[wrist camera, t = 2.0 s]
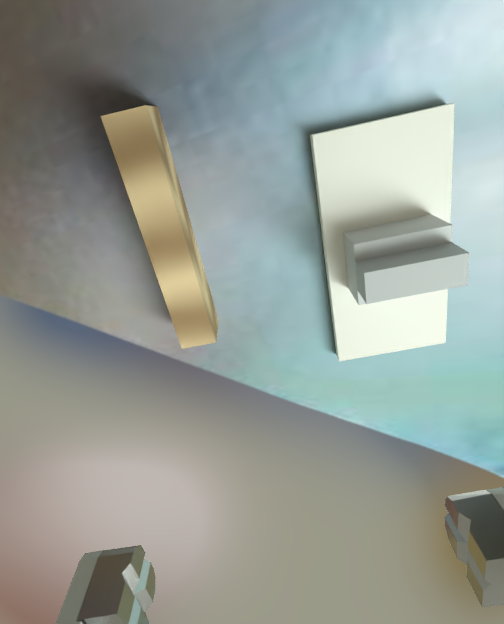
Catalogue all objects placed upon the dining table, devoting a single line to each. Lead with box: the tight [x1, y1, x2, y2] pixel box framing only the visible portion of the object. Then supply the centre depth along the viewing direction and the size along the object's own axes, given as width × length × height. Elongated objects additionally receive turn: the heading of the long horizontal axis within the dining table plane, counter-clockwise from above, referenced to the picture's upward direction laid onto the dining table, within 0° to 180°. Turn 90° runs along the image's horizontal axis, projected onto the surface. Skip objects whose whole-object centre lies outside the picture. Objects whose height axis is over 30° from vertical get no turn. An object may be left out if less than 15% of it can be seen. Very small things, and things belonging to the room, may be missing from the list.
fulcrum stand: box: [310, 103, 469, 361], centre depth 29 cm, size 20×10×7 cm, turn 12°
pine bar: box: [101, 105, 219, 349], centre depth 30 cm, size 18×3×4 cm, turn 12°
